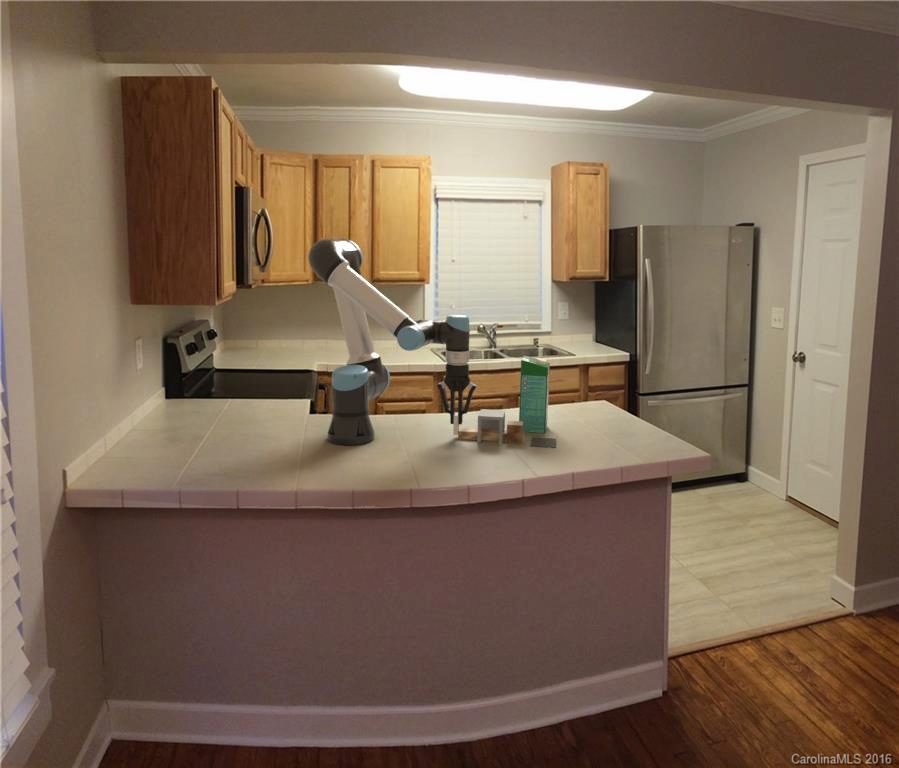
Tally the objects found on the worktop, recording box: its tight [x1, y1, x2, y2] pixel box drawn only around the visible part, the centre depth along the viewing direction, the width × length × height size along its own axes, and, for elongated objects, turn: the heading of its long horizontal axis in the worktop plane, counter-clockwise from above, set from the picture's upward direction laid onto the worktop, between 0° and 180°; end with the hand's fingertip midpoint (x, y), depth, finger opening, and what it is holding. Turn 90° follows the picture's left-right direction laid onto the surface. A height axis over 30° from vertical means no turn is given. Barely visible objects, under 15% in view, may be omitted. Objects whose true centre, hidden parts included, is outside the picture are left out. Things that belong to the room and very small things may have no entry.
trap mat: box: [529, 436, 557, 449], centre depth 232 cm, size 8×10×1 cm
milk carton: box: [518, 354, 551, 434], centre depth 246 cm, size 9×9×25 cm
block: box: [505, 420, 524, 444], centre depth 234 cm, size 5×5×6 cm
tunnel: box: [476, 408, 506, 445], centre depth 234 cm, size 8×9×9 cm
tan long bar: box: [457, 427, 507, 442], centre depth 236 cm, size 16×4×3 cm, turn 81°
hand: (456, 433), depth 236 cm, fingers closed
